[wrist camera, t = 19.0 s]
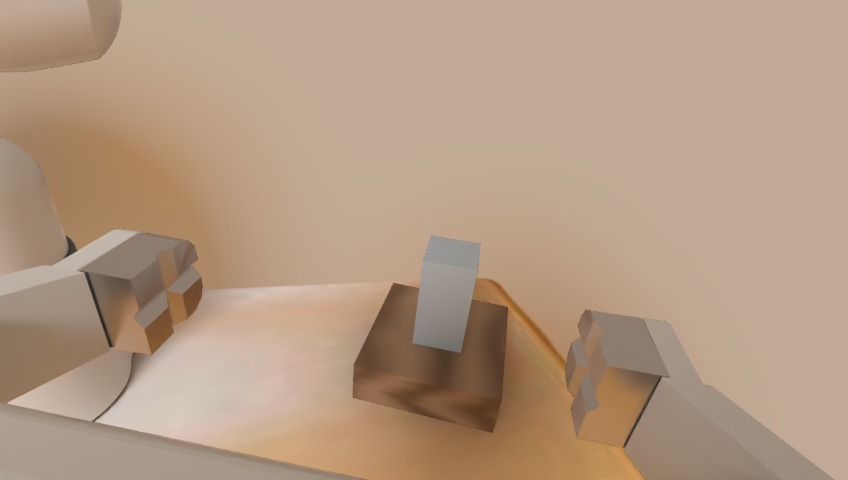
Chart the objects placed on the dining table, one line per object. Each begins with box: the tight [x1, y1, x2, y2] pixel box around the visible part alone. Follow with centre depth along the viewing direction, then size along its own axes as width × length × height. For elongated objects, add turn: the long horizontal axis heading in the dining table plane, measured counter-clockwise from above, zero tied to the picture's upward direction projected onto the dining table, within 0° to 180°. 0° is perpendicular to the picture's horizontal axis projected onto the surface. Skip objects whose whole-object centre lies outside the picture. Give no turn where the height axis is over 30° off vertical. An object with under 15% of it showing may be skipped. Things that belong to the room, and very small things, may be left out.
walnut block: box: [353, 283, 508, 432], centre depth 48 cm, size 14×14×5 cm
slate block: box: [412, 235, 480, 353], centre depth 44 cm, size 5×5×10 cm
